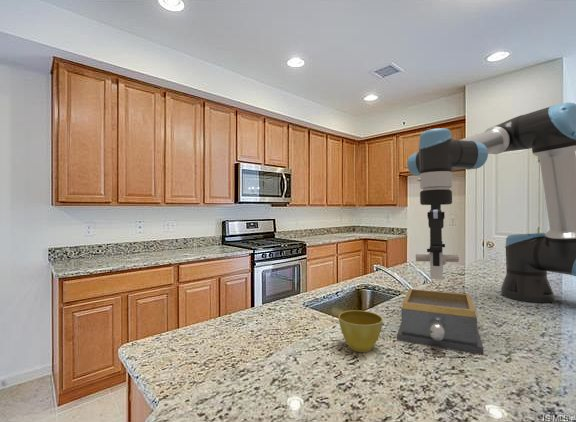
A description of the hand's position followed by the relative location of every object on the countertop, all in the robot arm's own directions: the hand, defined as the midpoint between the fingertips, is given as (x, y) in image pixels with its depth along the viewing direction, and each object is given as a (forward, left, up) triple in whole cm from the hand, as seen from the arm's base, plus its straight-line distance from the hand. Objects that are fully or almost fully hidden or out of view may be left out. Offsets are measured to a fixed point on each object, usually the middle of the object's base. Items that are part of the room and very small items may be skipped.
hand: (437, 274), depth 79 cm
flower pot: (+16, +17, -15) cm, 28 cm away
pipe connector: (0, 0, -1) cm, 1 cm away
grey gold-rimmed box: (0, +2, -15) cm, 15 cm away
